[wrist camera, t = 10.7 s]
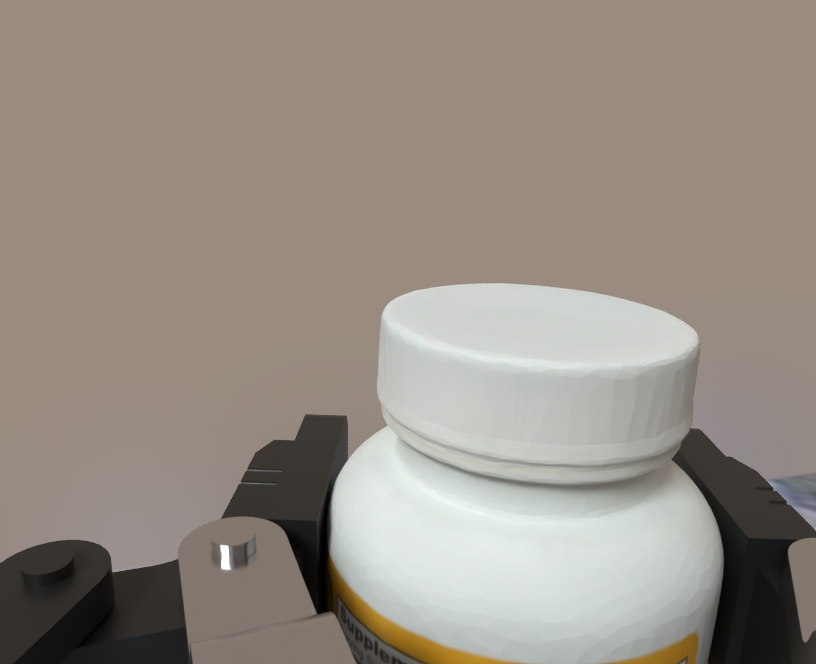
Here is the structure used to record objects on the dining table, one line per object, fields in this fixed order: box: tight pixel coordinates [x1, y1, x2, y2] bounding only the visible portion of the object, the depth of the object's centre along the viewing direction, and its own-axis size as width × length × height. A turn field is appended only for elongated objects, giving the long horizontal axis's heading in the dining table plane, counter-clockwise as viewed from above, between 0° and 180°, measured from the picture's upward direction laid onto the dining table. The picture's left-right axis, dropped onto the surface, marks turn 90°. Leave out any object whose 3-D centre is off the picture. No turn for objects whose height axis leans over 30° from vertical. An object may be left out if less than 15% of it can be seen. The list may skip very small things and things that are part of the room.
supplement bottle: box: [325, 283, 724, 664], centre depth 10 cm, size 5×5×10 cm
